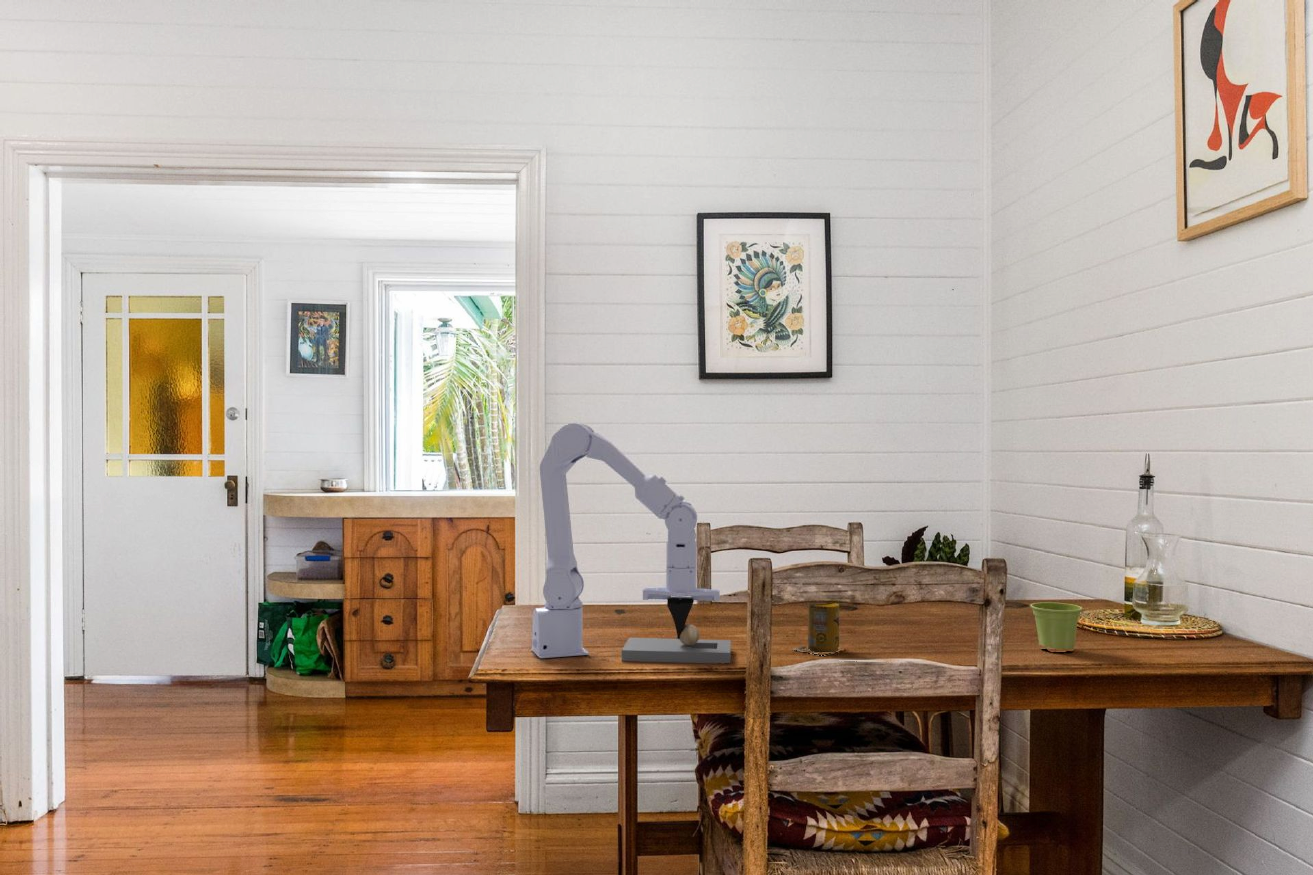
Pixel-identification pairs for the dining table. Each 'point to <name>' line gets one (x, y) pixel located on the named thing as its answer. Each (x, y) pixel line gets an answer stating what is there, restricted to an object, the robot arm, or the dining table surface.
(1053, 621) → the plant pot
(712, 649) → the board
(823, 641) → the condiment
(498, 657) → the dining table surface
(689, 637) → the ball
